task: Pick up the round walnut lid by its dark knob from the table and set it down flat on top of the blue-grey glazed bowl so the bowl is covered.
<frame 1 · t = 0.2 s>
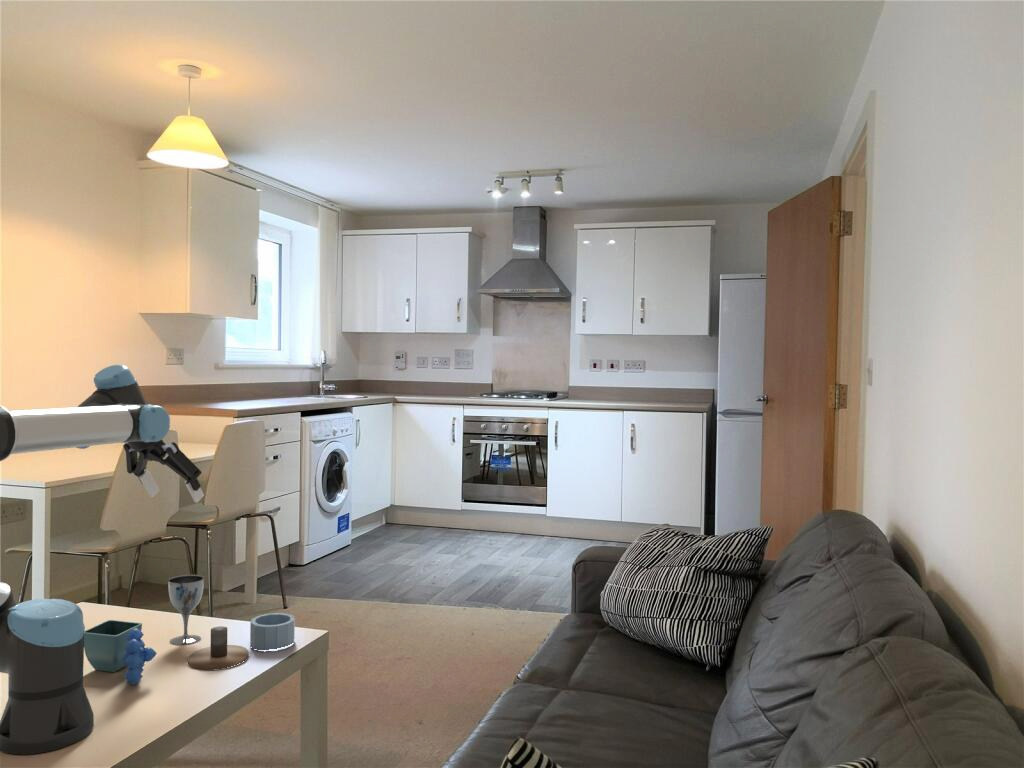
hand: (177, 496, 191), 35 cm above the table, tool tilted 35°, fingers open, 13 cm apart
lid: (218, 660, 180), on the table
wine glass: (185, 640, 192), on the table
bowl: (272, 644, 190), on the table
flower pot: (112, 668, 174), on the table
grapes: (138, 684, 166), on the table
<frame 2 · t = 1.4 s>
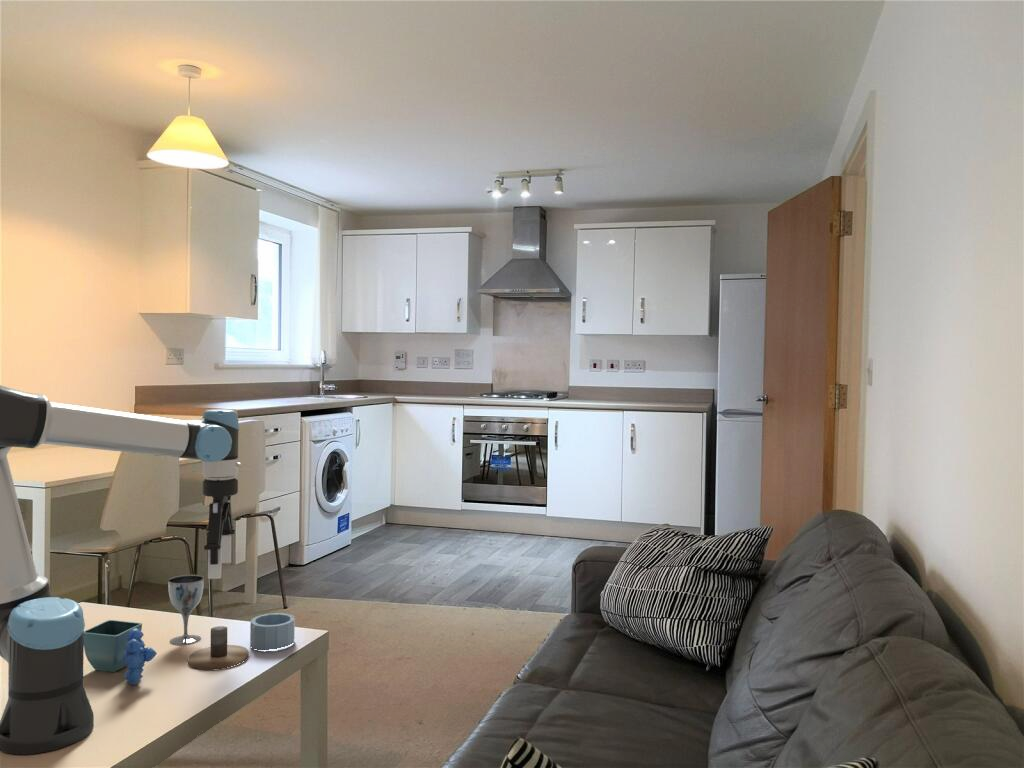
hand: (219, 570, 180), 20 cm above the table, tool pointing down, fingers open, 13 cm apart
nothing on the table moved.
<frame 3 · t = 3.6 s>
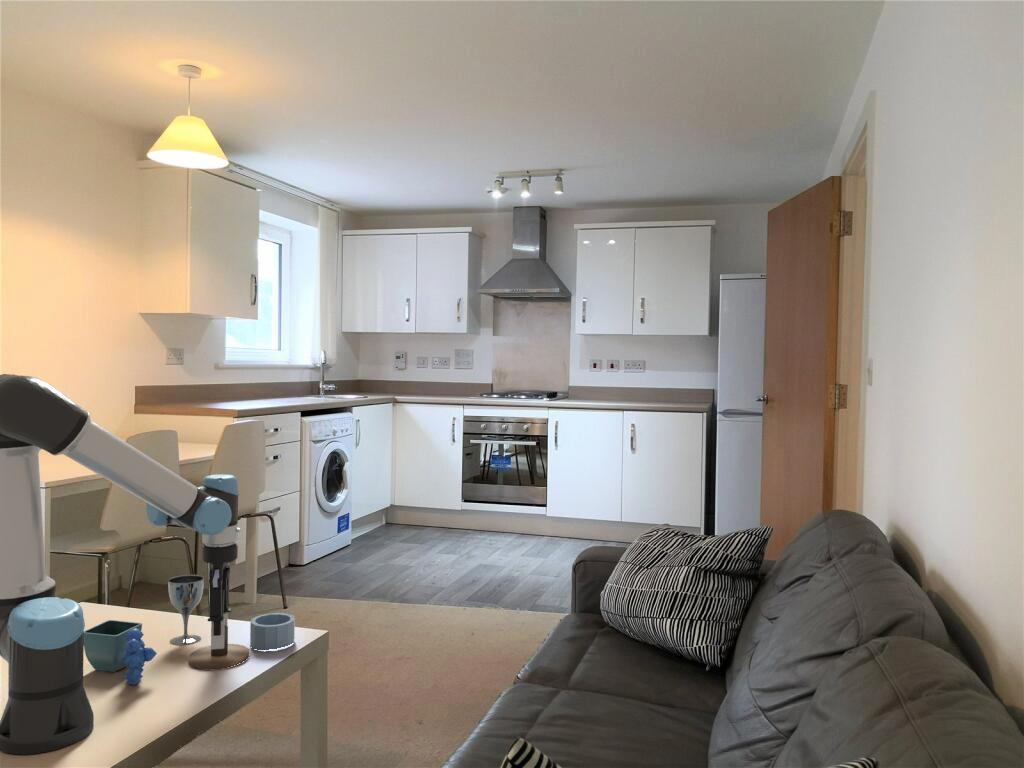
hand: (219, 644, 180), 3 cm above the table, tool pointing down, fingers closed on lid, 4 cm apart
lid: (219, 658, 180), on the table, touching gripper
everything else where it was.
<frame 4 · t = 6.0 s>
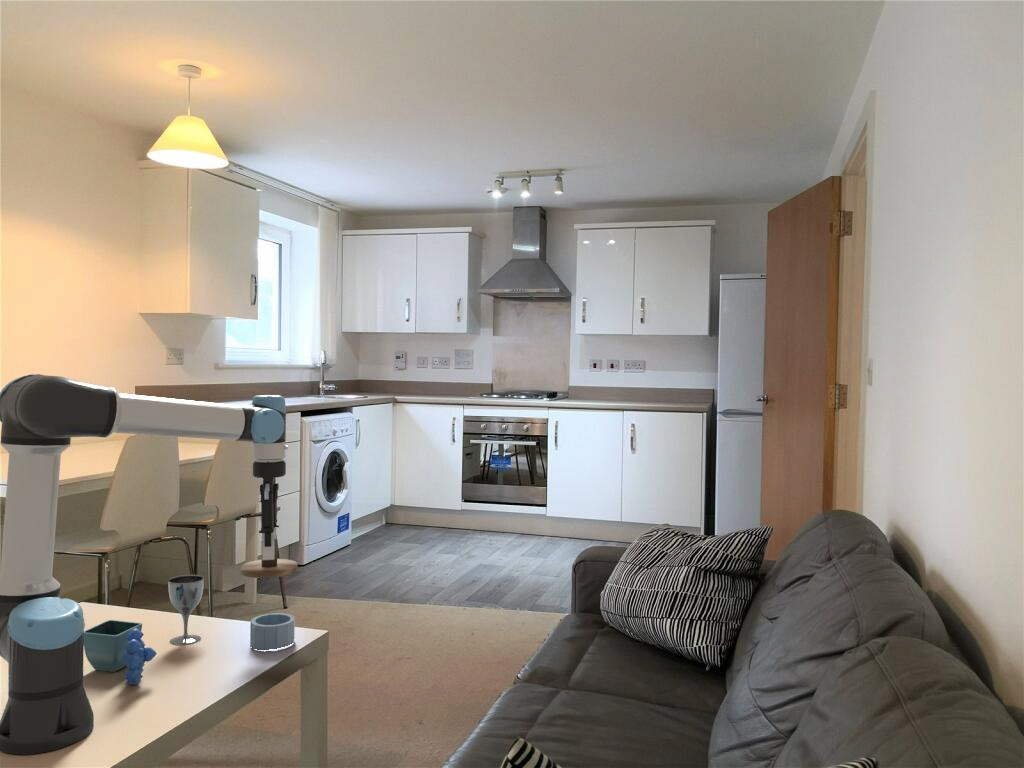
hand: (269, 557, 189), 21 cm above the table, tool pointing down, fingers closed on lid, 4 cm apart
lid: (269, 570, 189), point 18 cm above the table, touching gripper
everything else where it was.
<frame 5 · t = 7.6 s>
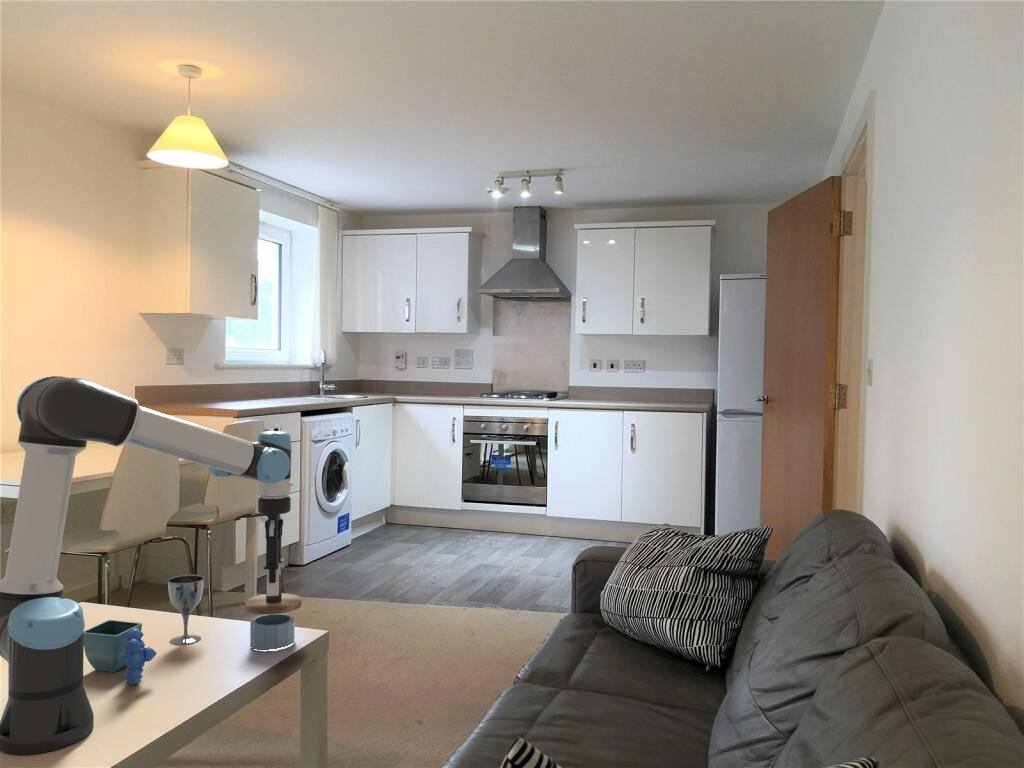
hand: (273, 592, 190), 13 cm above the table, tool pointing down, fingers closed on lid, 4 cm apart
lid: (273, 605, 190), point 9 cm above the table, touching gripper
everything else where it was.
when the fingers open (11 cm above the table, at t = 8.6 s): lid drops 1 cm, resting on bowl.
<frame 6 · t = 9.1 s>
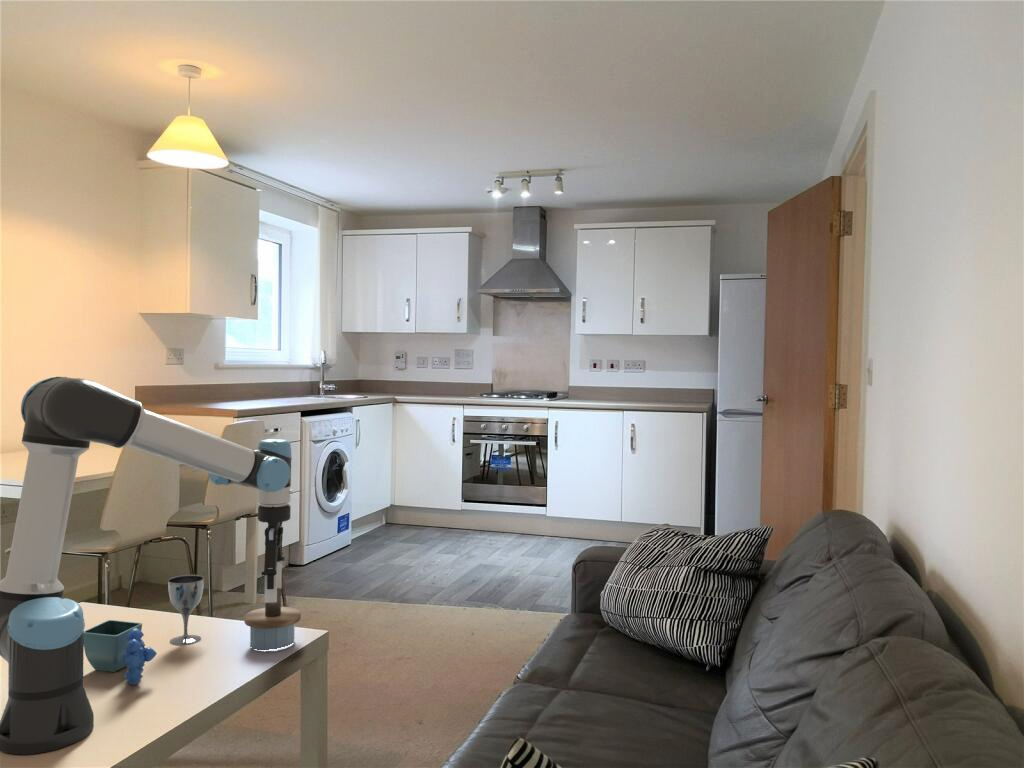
hand: (273, 595, 190), 12 cm above the table, tool pointing down, fingers open, 11 cm apart
lid: (272, 619, 190), point 6 cm above the table, touching bowl
everything else where it was.
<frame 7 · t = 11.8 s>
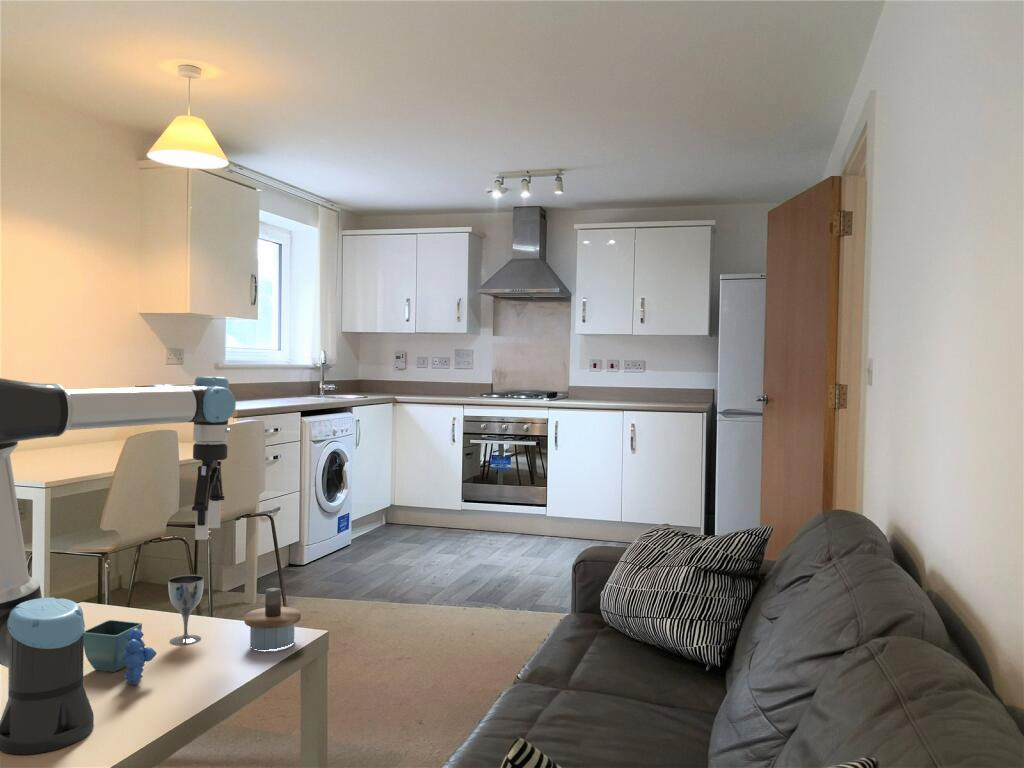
hand: (208, 533, 184), 28 cm above the table, tool pointing down, fingers open, 13 cm apart
nothing on the table moved.
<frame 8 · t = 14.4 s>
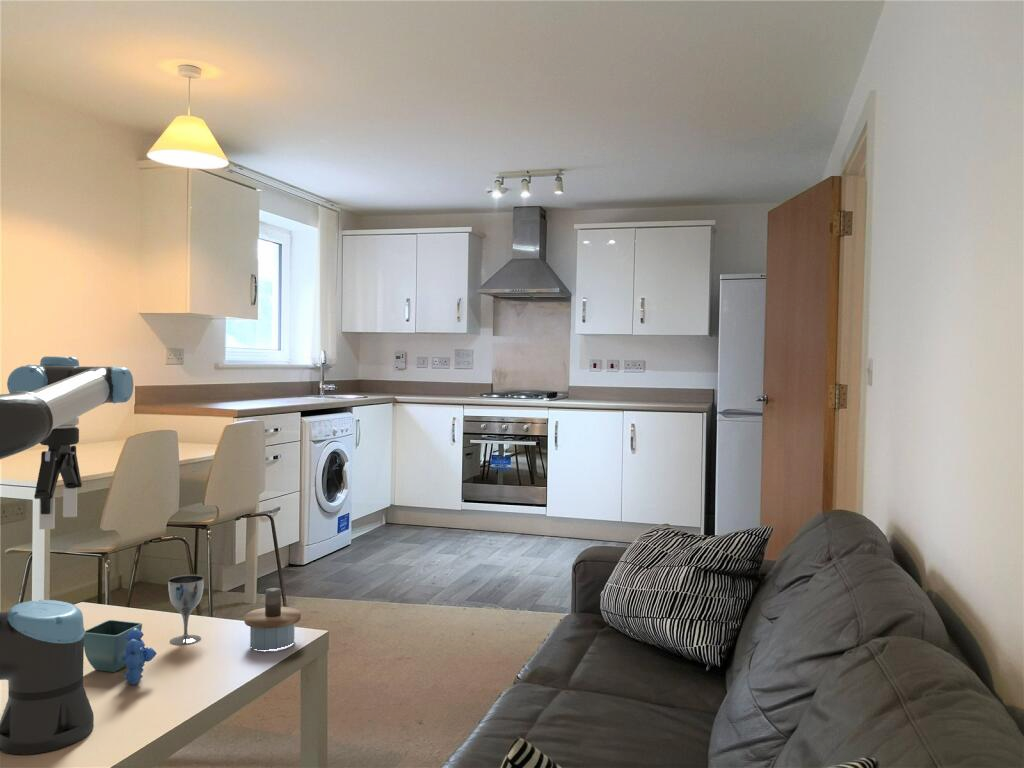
hand: (59, 522, 174), 32 cm above the table, tool pointing down, fingers open, 13 cm apart
nothing on the table moved.
at the end: lid 0.0 cm off-centre on the bowl, point 6.0 cm above the bowl's base; lid tilted 0°; lid touching bowl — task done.
